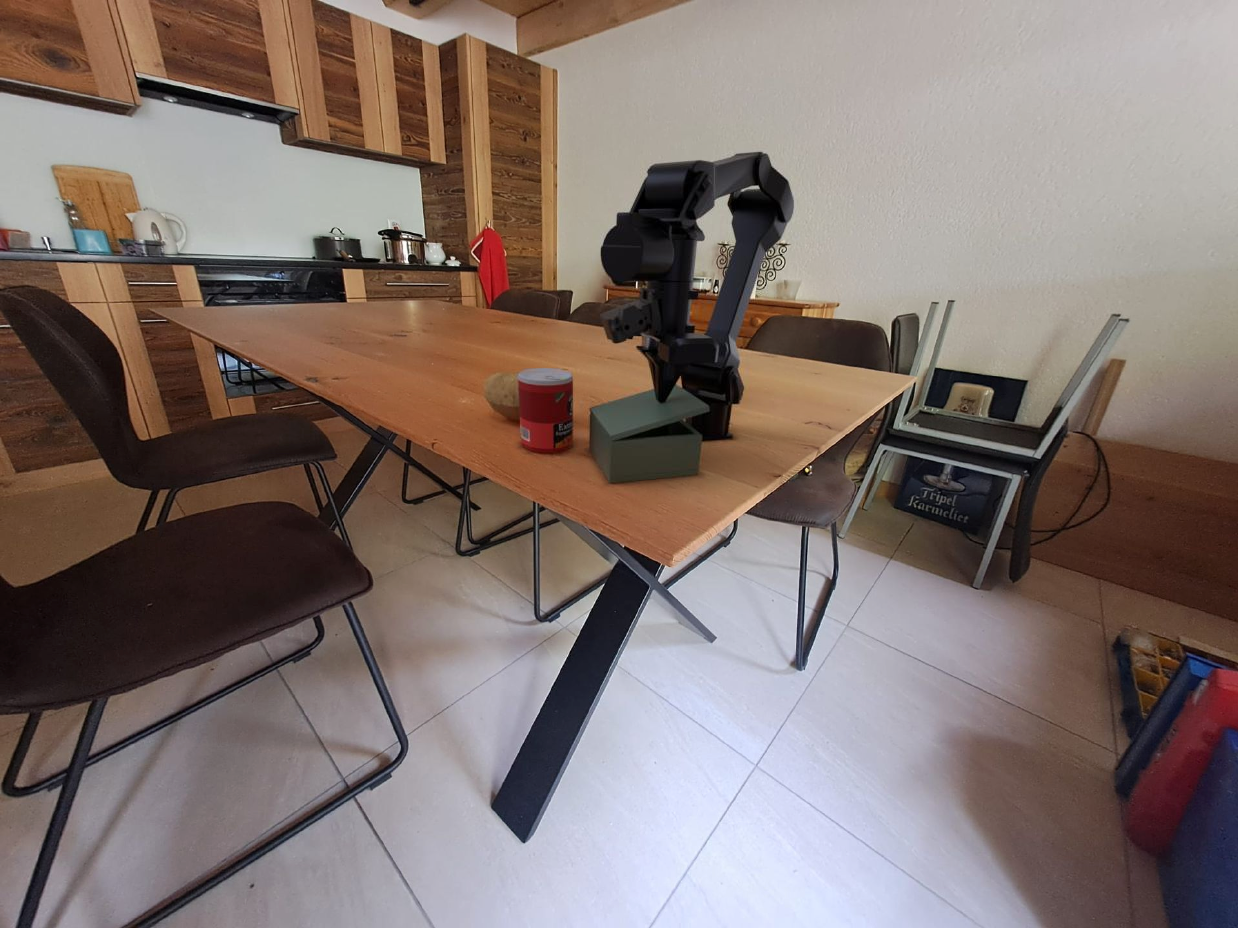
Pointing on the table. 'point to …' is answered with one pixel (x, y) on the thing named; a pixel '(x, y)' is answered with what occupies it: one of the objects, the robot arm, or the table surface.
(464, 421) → the table surface
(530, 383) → the canned food
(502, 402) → the potato
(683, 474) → the chest
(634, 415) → the lid
